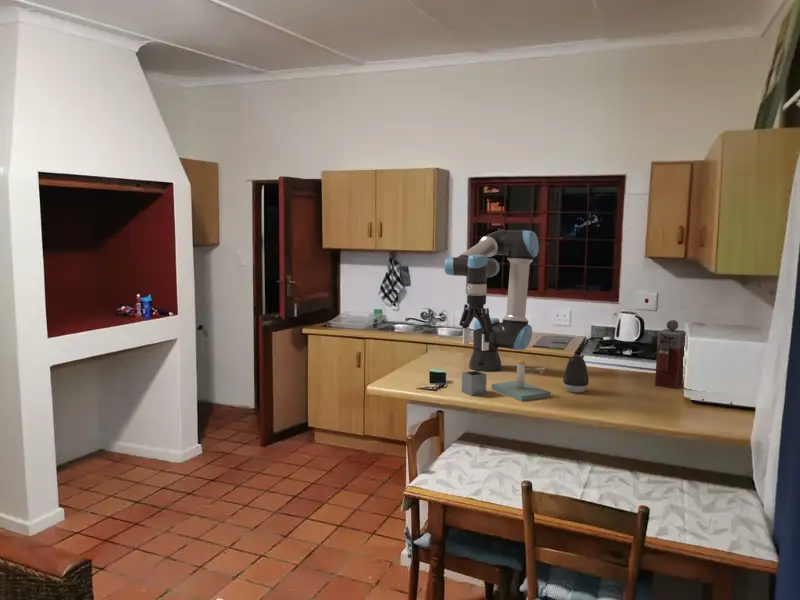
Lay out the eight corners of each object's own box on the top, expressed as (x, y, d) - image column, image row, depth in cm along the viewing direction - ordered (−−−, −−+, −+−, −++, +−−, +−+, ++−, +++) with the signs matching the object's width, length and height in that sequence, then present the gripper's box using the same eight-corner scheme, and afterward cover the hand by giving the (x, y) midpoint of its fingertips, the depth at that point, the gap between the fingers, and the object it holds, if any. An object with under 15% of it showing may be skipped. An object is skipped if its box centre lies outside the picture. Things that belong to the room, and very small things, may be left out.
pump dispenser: (593, 391, 264) (594, 354, 262) (580, 396, 256) (582, 358, 254) (570, 386, 270) (572, 351, 269) (557, 391, 263) (559, 354, 261)
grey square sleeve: (461, 391, 261) (462, 372, 260) (476, 389, 264) (476, 370, 263) (471, 396, 255) (471, 376, 254) (485, 393, 258) (486, 374, 257)
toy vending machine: (653, 386, 272) (657, 321, 268) (660, 381, 281) (664, 317, 277) (675, 390, 266) (679, 323, 263) (682, 384, 275) (686, 320, 272)
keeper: (491, 388, 266) (492, 356, 264) (518, 384, 272) (519, 353, 271) (521, 401, 248) (522, 367, 247) (550, 396, 255) (551, 363, 253)
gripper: (451, 291, 264) (450, 342, 266) (487, 298, 242) (485, 353, 245) (467, 290, 267) (466, 340, 270) (503, 297, 245) (501, 352, 248)
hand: (475, 347), depth 257 cm, fingers open, 13 cm apart
